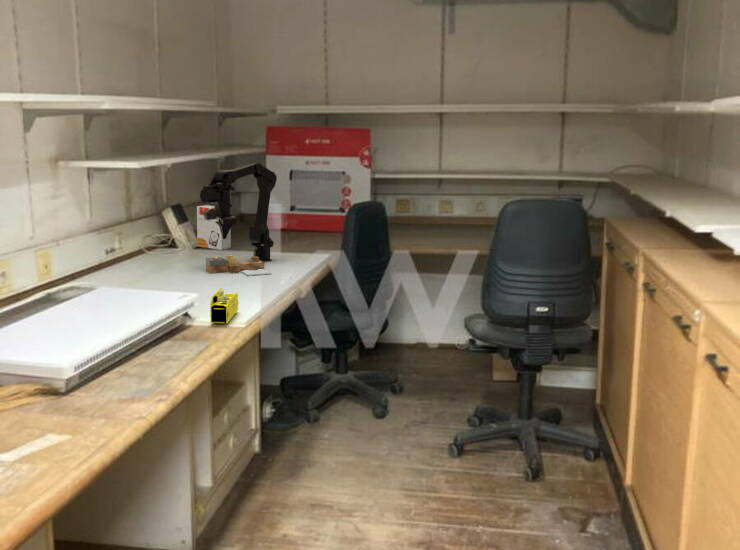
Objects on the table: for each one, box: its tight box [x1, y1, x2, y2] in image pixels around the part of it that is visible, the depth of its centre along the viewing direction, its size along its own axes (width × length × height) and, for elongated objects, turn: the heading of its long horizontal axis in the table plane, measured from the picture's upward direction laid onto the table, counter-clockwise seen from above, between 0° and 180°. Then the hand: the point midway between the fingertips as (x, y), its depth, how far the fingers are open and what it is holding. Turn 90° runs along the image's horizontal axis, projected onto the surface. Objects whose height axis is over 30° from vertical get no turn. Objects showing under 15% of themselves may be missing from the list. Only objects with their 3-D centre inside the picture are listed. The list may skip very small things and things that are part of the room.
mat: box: [240, 269, 272, 277], centre depth 282 cm, size 10×8×1 cm
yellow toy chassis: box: [209, 287, 239, 325], centre depth 213 cm, size 16×6×8 cm, turn 179°
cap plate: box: [205, 256, 226, 266], centre depth 283 cm, size 7×6×3 cm
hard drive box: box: [196, 204, 232, 251], centre depth 339 cm, size 16×8×20 cm, turn 62°
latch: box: [224, 254, 238, 265], centre depth 286 cm, size 4×5×3 cm
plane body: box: [205, 256, 265, 274], centre depth 287 cm, size 23×12×5 cm, turn 119°
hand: (224, 238), depth 292 cm, fingers closed
